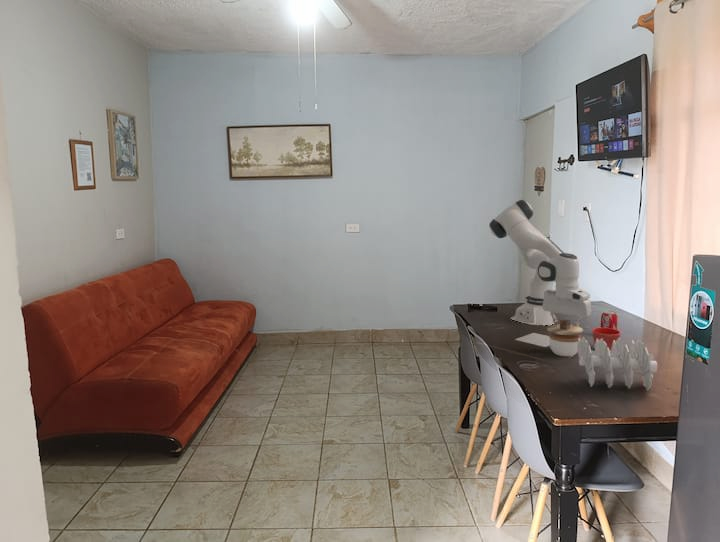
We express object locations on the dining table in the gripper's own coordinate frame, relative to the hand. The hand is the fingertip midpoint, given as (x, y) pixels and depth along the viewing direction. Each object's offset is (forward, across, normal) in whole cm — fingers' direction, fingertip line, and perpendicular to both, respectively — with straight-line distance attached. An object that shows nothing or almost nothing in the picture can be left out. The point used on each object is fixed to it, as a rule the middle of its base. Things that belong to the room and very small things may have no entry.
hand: (565, 324), depth 216 cm
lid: (+3, 0, 0) cm, 3 cm away
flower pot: (+14, +10, +16) cm, 23 cm away
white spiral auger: (+14, +30, -18) cm, 38 cm away
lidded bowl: (+14, 0, 0) cm, 14 cm away
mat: (+14, -18, +10) cm, 25 cm away
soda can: (+14, 0, +40) cm, 42 cm away
